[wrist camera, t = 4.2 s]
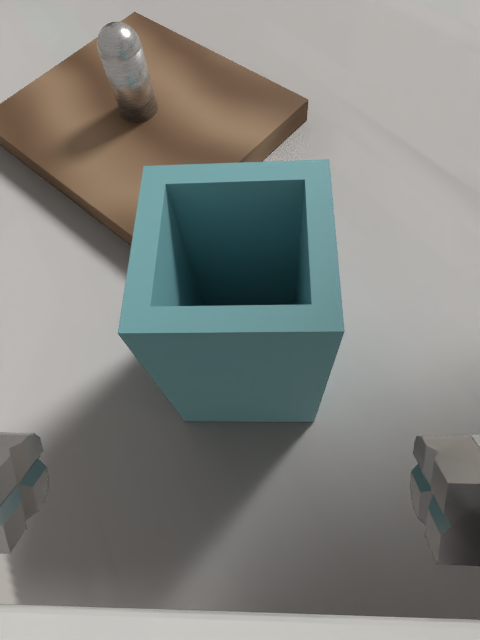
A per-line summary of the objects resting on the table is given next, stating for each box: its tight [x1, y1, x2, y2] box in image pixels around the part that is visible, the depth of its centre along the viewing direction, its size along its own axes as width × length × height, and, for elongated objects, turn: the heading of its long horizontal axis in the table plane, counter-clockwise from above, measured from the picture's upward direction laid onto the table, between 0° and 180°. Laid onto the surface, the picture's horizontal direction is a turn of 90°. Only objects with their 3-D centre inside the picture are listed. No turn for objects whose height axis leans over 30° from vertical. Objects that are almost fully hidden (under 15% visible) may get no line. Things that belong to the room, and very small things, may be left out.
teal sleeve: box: [118, 159, 344, 422], centre depth 18 cm, size 6×6×10 cm
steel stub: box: [97, 22, 158, 123], centre depth 26 cm, size 2×2×5 cm
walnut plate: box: [0, 12, 308, 245], centre depth 29 cm, size 14×16×2 cm
